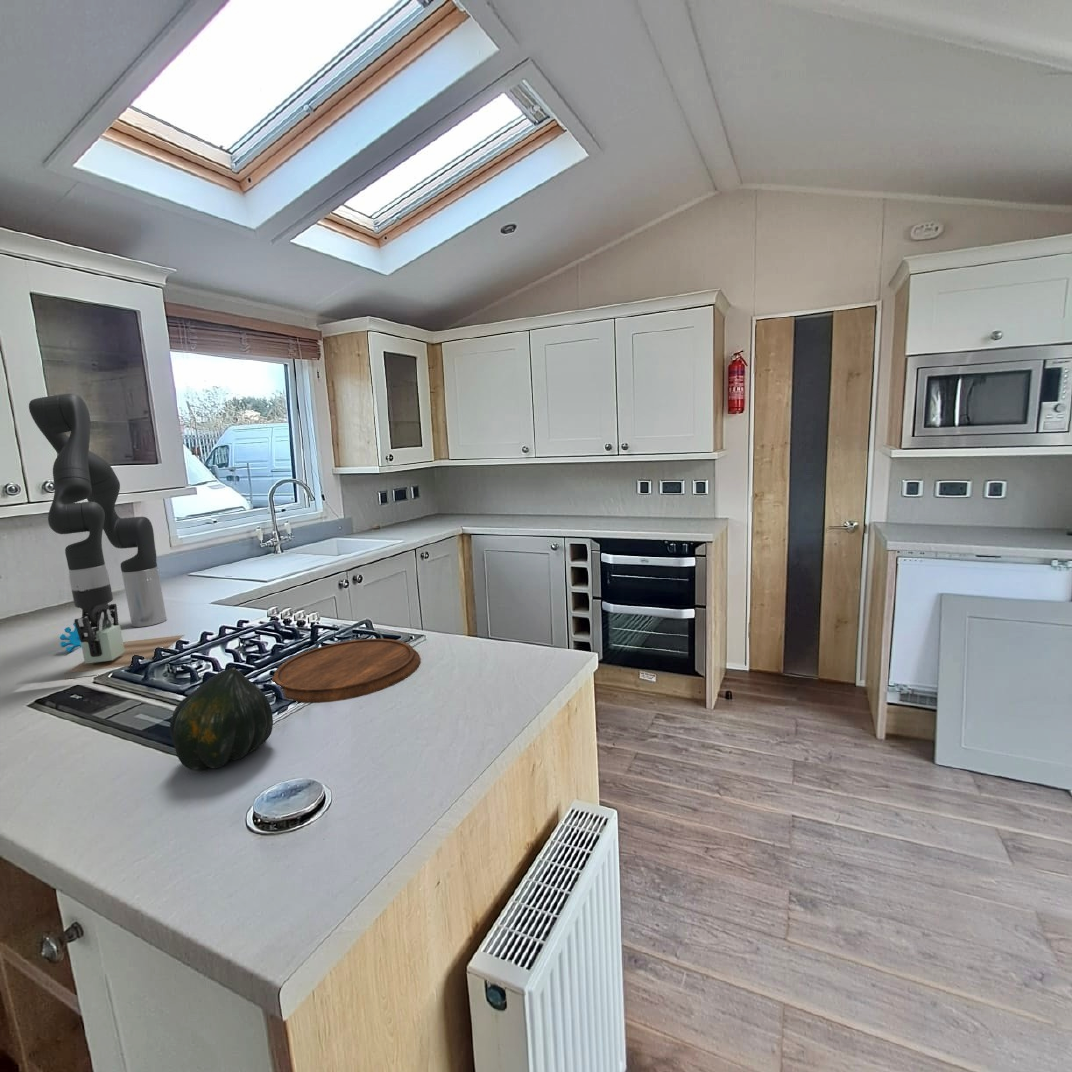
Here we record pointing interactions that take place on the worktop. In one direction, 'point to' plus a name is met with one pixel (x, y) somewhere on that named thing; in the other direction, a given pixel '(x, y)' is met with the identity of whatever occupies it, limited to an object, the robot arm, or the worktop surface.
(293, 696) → the cutting board
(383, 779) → the worktop surface
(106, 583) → the robot arm
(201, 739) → the squash
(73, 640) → the gear
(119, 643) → the pale green block
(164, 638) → the board
